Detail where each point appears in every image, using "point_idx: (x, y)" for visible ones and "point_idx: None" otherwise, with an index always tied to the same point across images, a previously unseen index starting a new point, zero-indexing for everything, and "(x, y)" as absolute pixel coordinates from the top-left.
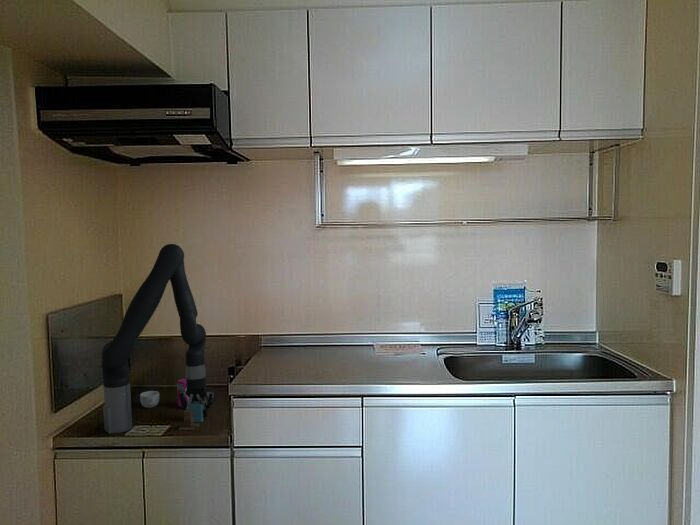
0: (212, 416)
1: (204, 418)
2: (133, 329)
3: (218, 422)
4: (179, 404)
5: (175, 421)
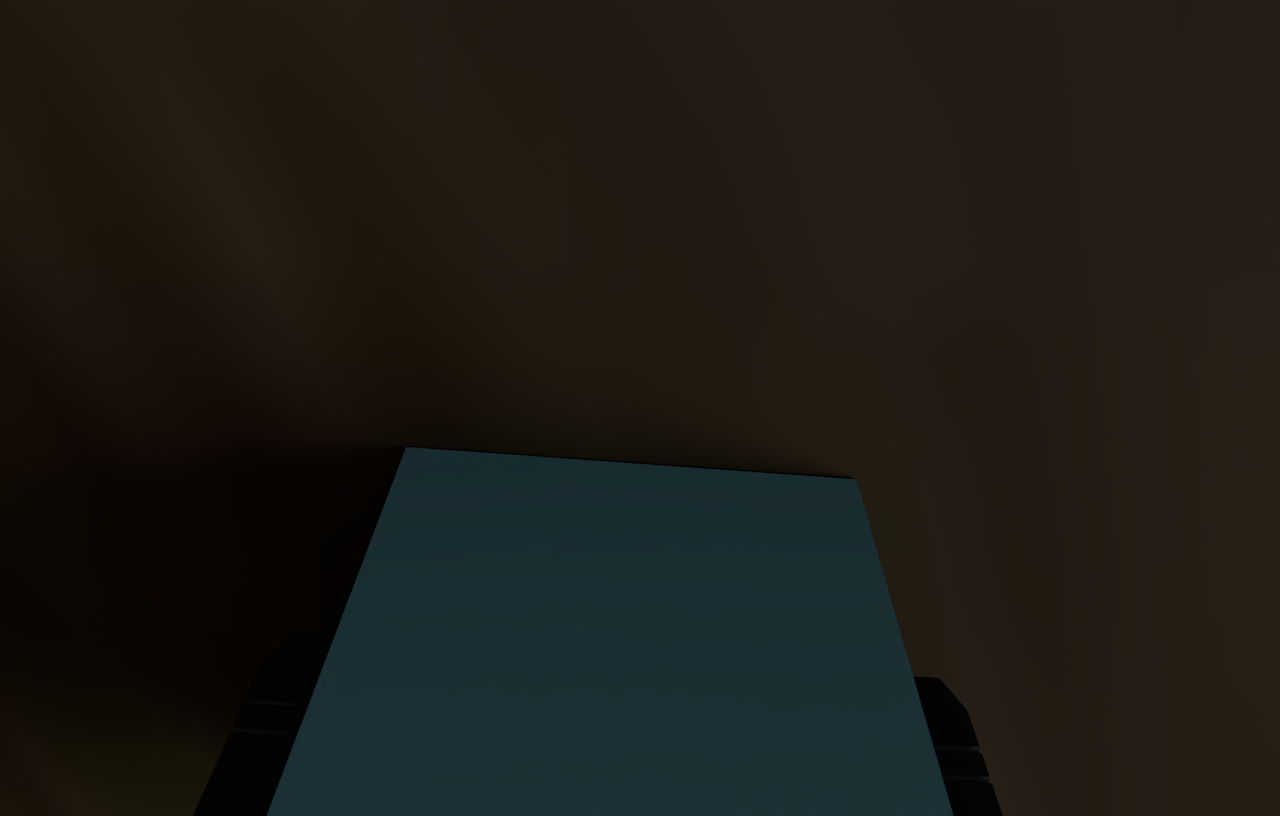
0: (1045, 385)
1: None
2: None
3: (1272, 809)
4: None
5: (12, 740)
